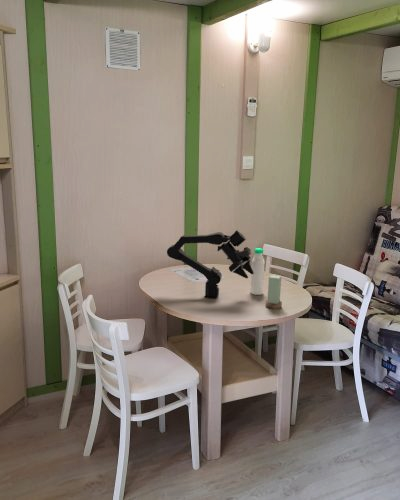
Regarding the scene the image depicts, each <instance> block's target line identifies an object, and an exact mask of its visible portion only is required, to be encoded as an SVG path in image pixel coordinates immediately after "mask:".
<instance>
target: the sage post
mask: <svg viewBox="0 0 400 500" xmlns="http://www.w3.org/2000/svg"><path fill="white" fill-rule="evenodd" d="M267 284H268V285H267V286H268V287H267V300H268V301H267V302H268V303H274V304H278V303H279V302H280V301H281V289H282V288H281V287H282V276H281V275H274V274H271V275H270V276H268V283H267Z"/></svg>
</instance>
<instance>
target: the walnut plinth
mask: <svg viewBox="0 0 400 500" xmlns="http://www.w3.org/2000/svg"><path fill="white" fill-rule="evenodd" d="M267 301H268V299H266V300H265V308H267V309H271V310H280V309H282V308H283V307H282V305H283V303H282V301H281V300H280V302H279V303H278V304H274V303H268V302H267Z"/></svg>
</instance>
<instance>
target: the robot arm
mask: <svg viewBox="0 0 400 500" xmlns="http://www.w3.org/2000/svg"><path fill="white" fill-rule="evenodd" d="M246 240H247V239H246V237H245V236H244V234H243V233H241V232H240V231H238V229H236V230H235V231H234V232H233V233H232V234H231V235H227V234H224V233H223V232H222V231H220V232H219V231H217V232H213V233H210V234H199V235H194V234H193V235H182V236H180V237H179V239H178V240H177V241H176V242H175V244H172V245H171V246H169V247H168V248H167V250H166V255H167V256H168V257H169V258H170V259H173V260H176V261H180V262H181V263H182V262H183V263H184V264H186V265H187V266H189V267H190V268H191V269H193V270H195V271H197V272H198V273H200V274H201V275H203V276H204V277H205V278H206V279H207V280H206V282H205V290H204V293H205V294H204V298H207V299H217V298H218V297H219V295H220V288H219V285H218V284H219V283H220V282H221V281H222V278H223V276H222V275H223V274H222V273H221V271H220V269H217V268H215V266H212V267H211V268H210V267H207V266H206V265H204V264H203V263H201V262H199V261H198V260H196V259H194V258H193V257H192V256H190V255H188V254H187V253H185V251H184V250H183V249H182V247H183V246H184V245H185V244H209V245H210V244H211V245H215V246H217V252H221V251H222V252H223V253H224V254H225V256H226V257H227V258H226V259H227V260H229V261H230V262H231V263H232V264H231V265H229V266H228V270H229V272H230V273H233V274H236V275H238V276H241V277H243V278H244V279H248V278H249V276H248V274H247V273H246V272H248V273H249V274H250V275H251V274H254V272H253V270H252V264H251V261H252V259H251V258H252V257H251V254H252V252H251V251H252V249H250V248H249V247H248V246H246V247H243V250H239V249H236V248H235V247H239V246H240V245H242V244H243V243H244V242H245V241H246Z"/></svg>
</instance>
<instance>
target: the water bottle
mask: <svg viewBox="0 0 400 500" xmlns="http://www.w3.org/2000/svg"><path fill="white" fill-rule="evenodd" d="M253 252H254V255H253V258H252V259H251V268H252V270H253V272H254V274H251V273H250V290H249V291H250V294H252V295H255V296H260V295H263V294H264V280H265V279H264V278H265V263H266V261H265V259H264V256H263V254H264V249H263V248H262V247H256V248H255V249H254V251H253Z"/></svg>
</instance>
